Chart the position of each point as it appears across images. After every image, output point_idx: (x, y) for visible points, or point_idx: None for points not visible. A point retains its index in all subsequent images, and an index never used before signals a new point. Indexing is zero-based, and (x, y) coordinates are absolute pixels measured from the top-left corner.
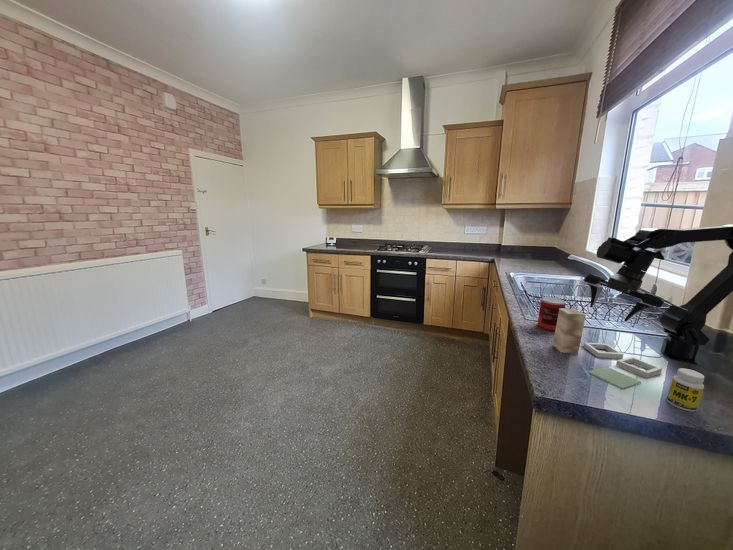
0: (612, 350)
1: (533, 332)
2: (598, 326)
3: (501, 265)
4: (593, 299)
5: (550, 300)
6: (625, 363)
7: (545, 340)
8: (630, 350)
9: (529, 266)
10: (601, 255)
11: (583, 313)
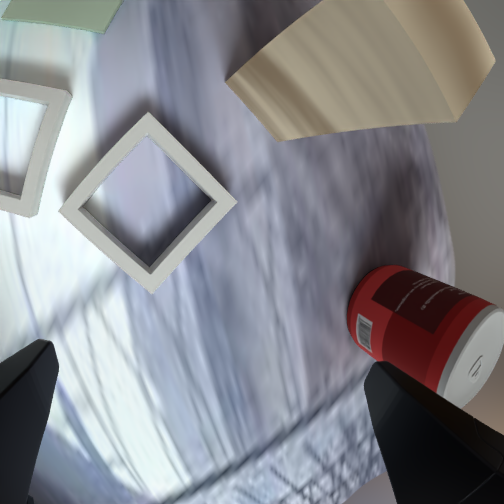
0: (110, 236)
1: (406, 189)
2: (247, 475)
3: None
4: (438, 409)
5: (482, 356)
6: (36, 88)
7: (359, 133)
8: (79, 354)
9: None
10: None
11: (386, 2)
